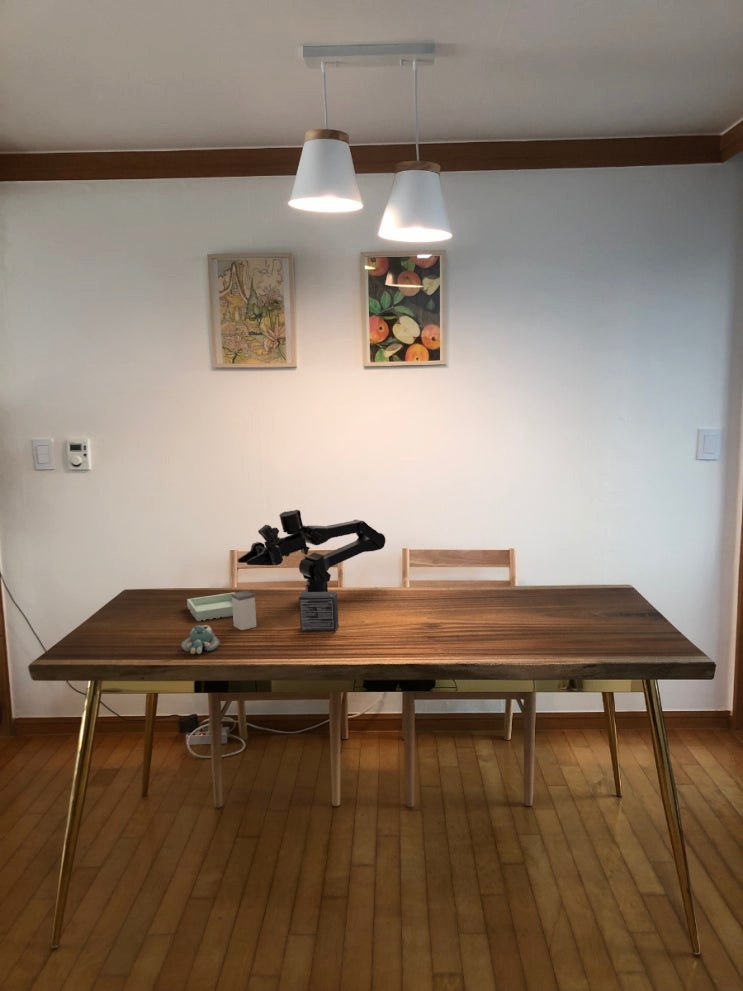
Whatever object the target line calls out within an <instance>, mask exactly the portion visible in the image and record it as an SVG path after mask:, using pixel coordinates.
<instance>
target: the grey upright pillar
mask: <svg viewBox="0 0 743 991" xmlns="http://www.w3.org/2000/svg"><path fill="white" fill-rule="evenodd" d="M232 593H233V594H232V607H233V616H232V618H233V621H232V622H233V627H234V628H236V629H238V630H240V631H244V630H248V629H252V628H256V627H257V614H256V598H255V597H256V596H255V595H256V594H255V593H253V592H251V591H248V590H243V591H239V592H235V593H234V592H232Z"/></svg>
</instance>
